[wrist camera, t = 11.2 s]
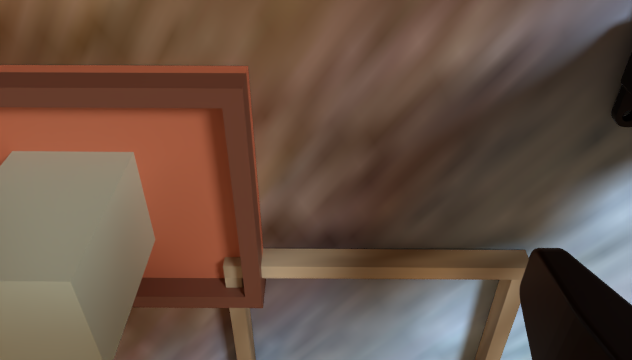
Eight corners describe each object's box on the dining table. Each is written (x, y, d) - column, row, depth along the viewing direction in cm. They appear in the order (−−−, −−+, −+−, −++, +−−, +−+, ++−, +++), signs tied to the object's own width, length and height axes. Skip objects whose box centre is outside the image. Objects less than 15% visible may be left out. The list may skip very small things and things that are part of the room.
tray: (247, 65, 20) (242, 88, 19) (266, 279, 28) (262, 308, 26) (-146, 64, 20) (-182, 86, 19) (-24, 278, 28) (-43, 306, 26)
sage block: (133, 151, 22) (70, 281, 17) (155, 239, 25) (108, 373, 20) (12, 151, 22) (-92, 280, 17) (48, 238, 25) (-29, 372, 20)
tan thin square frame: (525, 250, 26) (533, 268, 25) (471, 408, 35) (476, 426, 34) (226, 248, 26) (223, 266, 25) (249, 406, 35) (247, 424, 34)
